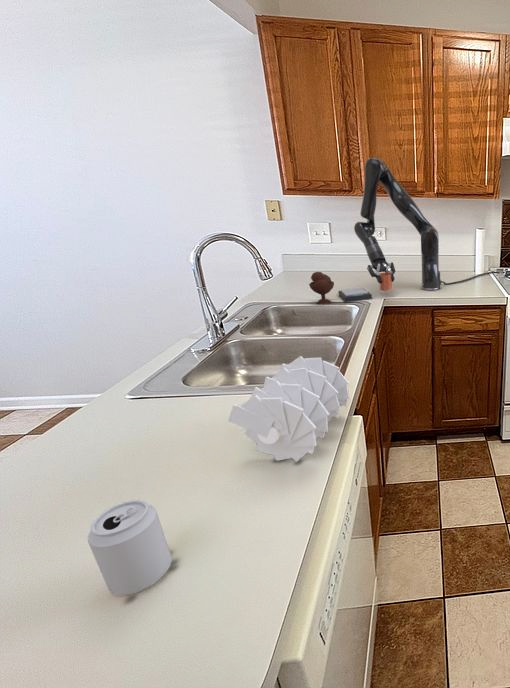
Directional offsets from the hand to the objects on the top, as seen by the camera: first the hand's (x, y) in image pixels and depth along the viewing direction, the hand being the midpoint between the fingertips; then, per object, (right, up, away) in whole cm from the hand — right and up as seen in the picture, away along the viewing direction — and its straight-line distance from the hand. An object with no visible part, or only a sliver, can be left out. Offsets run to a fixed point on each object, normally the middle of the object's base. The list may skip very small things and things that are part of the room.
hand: (387, 281), depth 199 cm
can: (-4, -61, -139) cm, 152 cm away
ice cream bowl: (-28, -11, -9) cm, 32 cm away
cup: (-1, -4, +3) cm, 5 cm away
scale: (-16, -8, +1) cm, 18 cm away
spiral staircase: (+5, -49, -106) cm, 117 cm away
